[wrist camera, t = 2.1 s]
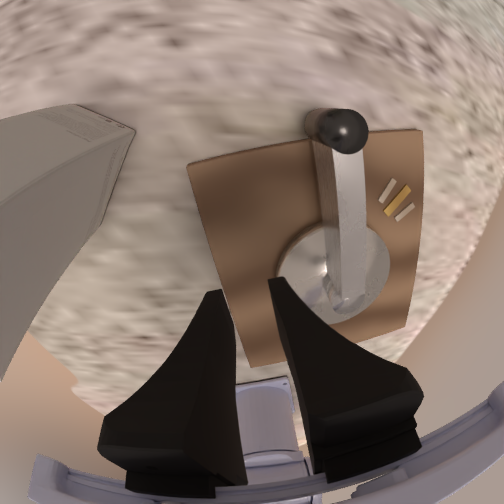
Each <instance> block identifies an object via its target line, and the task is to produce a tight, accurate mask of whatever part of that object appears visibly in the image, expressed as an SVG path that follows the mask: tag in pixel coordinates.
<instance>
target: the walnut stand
mask: <svg viewBox="0 0 504 504" xmlns="http://www.w3.org/2000/svg"><path fill="white" fill-rule="evenodd" d="M362 150H363V161H364V175H365V192H366V225H367V226H369V227H370V228H371V229H372V230H373V231H374V232H375V233H376V234H377V235H378V236H379V237H380V238H381V239H382V240H383V241H384V243H385V245H386V247H387V249H388V252H389V256H390V270H389V275H388V278H387V281H386V283H385V286H384V287H383V289H382V291H381V293H380V294H379V295H378V297H377V298H376V299H375V300H374V301H373V302H372V303H371V304H370V305H369V306H368V307H367V308H366V309H365V310H363V311H362V312H360V313H359V314H357V315H356V316H354V317H352V318H350V319H347V320H345V321H342V322H339V323H335V324H329V326H330V327H332V328H333V329H334V330H336V331H337V332H338V333H340V334H341V335H342V336H344V337H345V338H347V339H348V340H350V341H351V342H353V343H358V342H361V341H364V340H368V339H371V338H374V337H377V336H380V335H383V334H386V333H389V332H392V331H395V330H397V329H400V328H403V327H405V324H406V320H407V316H408V311H409V307H410V302H411V297H412V292H413V286H414V280H415V274H416V268H417V261H418V254H419V246H420V236H421V226H422V213H423V193H424V149H423V131H421V130H417V129H405V130H386V131H373V132H369V135H368V140H367V142H366V144H365V146H364V147H363V148H362ZM186 168H187V171H188V175H189V179H190V182H191V186H192V189H193V193H194V196H195V199H196V203H197V206H198V210H199V213H200V216H201V220H202V223H203V226H204V230H205V233H206V236H207V239H208V243H209V246H210V249H211V252H212V255H213V259H214V262H215V265H216V268H217V271H218V274H219V277H220V280H221V283H222V286H223V289H224V292H225V295H226V298H227V301H228V304H229V307H230V310H231V313H232V316H233V319H234V322H235V325H236V328H237V331H238V334H239V336H240V339H241V342H242V345H243V348H244V350H245V353H246V356H247V359H248V362H249V364H250V367H251V368H253V367H258V366H264V365H269V364H274V363H279V362H284V361H287V359H286V356H285V353H284V350H283V347H282V344H281V341H280V337H279V333H278V328H277V323H276V319H275V314H274V309H273V304H272V299H271V295H270V290H269V285H268V281H267V279H271V278H276V269H277V264H278V261H279V259H280V257H281V255H282V253H283V251H284V250H285V248H286V247H287V245H288V244H289V243H290V242H291V241H292V239H293V238H294V237H296V236H297V235H298V234H299V233H300V232H302V231H303V230H304V229H306V228H308V227H309V226H311V225H313V224H315V223H318V222H320V221H322V214H321V204H320V195H319V187H318V179H317V171H316V164H315V156H314V150H313V143H312V140H311V139H304V140H298V141H291V142H286V143H280V144H274V145H269V146H264V147H259V148H254V149H249V150H244V151H239V152H235V153H230V154H226V155H222V156H218V157H213V158H209V159H205V160H202V161H198V162H194V163H190V164H188V165H187V167H186Z"/></svg>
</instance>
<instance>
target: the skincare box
mask: <svg viewBox="0 0 504 504" xmlns="http://www.w3.org/2000/svg"><path fill="white" fill-rule="evenodd" d="M134 135H135V131H134V130H132V129H130V128H128V127H126V126H124V125H122V124H119V123H117V122H115V121H113V120H111V119H108V118H106V117H104V116H101V115H99V114H97V113H94V112H92V111H89V110H87V109H84V108H82V107H80V106H77V105H75V104H68V105H62V106H56V107H50V108H45V109H40V110H36V111H32V112H28V113H24V114H20V115H16V116H12V117H8V118H5V119H1V120H0V382H1V381H2V379H3V377H4V375H5V372H6V370H7V368H8V366H9V364H10V362H11V360H12V358H13V356H14V354H15V352H16V350H17V348H18V346H19V344H20V342H21V341H22V339H23V337H24V335H25V333H26V331H27V330H28V328H29V326H30V324H31V322H32V321H33V319H34V317H35V316H36V314H37V312H38V311H39V309H40V307H41V306H42V304H43V303H44V301H45V299H46V298H47V296H48V295H49V293H50V292H51V290H52V289H53V287H54V286H55V284H56V283H57V281H58V280H59V278H60V277H61V276H62V274H63V273H64V271H65V270H66V268H67V267H68V266H69V264H70V263H71V262H72V260H73V259H74V257H75V256H76V255H77V253H78V252H79V251H80V250H81V248H82V247H83V246H84V244H85V243H86V242H87V241H88V239H89V238H90V237H91V236H92V234H93V233H94V232H95V231H96V229H97V228H98V227H99V226H100V224H101V222H102V219H103V216H104V213H105V210H106V207H107V204H108V201H109V198H110V195H111V193H112V190H113V187H114V184H115V182H116V179H117V176H118V174H119V171H120V168H121V166H122V163H123V160H124V157H125V155H126V152H127V149H128V147H129V145H130V143H131V141H132V139H133V137H134Z"/></svg>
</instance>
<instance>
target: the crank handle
mask: <svg viewBox="0 0 504 504" xmlns="http://www.w3.org/2000/svg"><path fill="white" fill-rule="evenodd" d="M304 127H305V131H306V134H307V135H308V137H309V138H310V139H311V140H312V143H313V150H314V156H315V164H316V171H317V179H318V187H319V195H320V204H321V214H322V221H320V222H318V223H315V224H313V225H311V226H309V227H308V228H306V229H304V230H303V231H302V232H300V233H299V234H298V235H297V236H296V237H294V238H293V239H292V241H291V242H290V243H289V244H288V245H287V247H286V248H285V250H284V251H283V253H282V255H281V257H280V259H279V261H278V264H277V269H276V277H280V276H283V277H285V278H286V280H287V282H288V283H289V285H290V286H291V287H292V289H293V290H294V291H295V292H296V294H297V295H298V296H299V297H300V298H301V299H302V300H303V301H304V303H305V304H306V305H307V306H308V307H309V308H310V309H311V310H312V311H313V312H314V313H315V314H316V315H318V316H319V317H320V318H321V319H322V320H323V321H324V322H325V323H327V324H328V325H329V324H335V323H339V322H342V321H345V320H347V319H350V318H352V317H354V316H356V315H357V314H359V313H360V312H362V311H363V310H365V309H366V308H367V307H368V306H369V305H370V304H371V303H372V302H373V301H374V300H375V299H376V298H377V297H378V295H379V294H380V293H381V291H382V289H383V287H384V286H385V283H386V281H387V278H388V275H389V270H390V256H389V252H388V249H387V247H386V245H385V243H384V241H383V240H382V239H381V238H380V237H379V236H378V235H377V234H376V233H375V232H374V231H373V230H372V229H371V228H370V227H369V226H367V225H366V192H365V175H364V161H363V150H362V148H363V147H364V146H365V144H366V142H367V140H368V135H369V130H368V125H367V123H366V121H365V119H364V118H363V117H362V116H361V115H360V114H359V113H358V112H356V111H354V110H351V109H335V108H318V109H315V110H313V111H311V112H310V113H309V114H308V115H307V117H306V119H305V124H304Z"/></svg>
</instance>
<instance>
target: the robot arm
mask: <svg viewBox="0 0 504 504" xmlns="http://www.w3.org/2000/svg"><path fill="white" fill-rule="evenodd" d="M267 281H268V285H269V290H270V295H271V299H272V304H273V309H274V314H275V319H276V323H277V328H278V333H279V337H280V341H281V344H282V347H283V350H284V353H285V356H286V359H287V362H288V365H289V368H290V371H291V374H292V377H293V380H294V384H295V388H296V392H297V397H298V401H299V406H300V411H301V416H302V420H303V425H304V430H305V435H306V440H307V445H308V450H309V455H310V457H304V458H303V453H302V451H299V447H298V442H297V437H296V432H295V427H294V421H293V416H292V413H294V412H295V409H294V404H293V399H292V394H291V389H290V384H289V379H288V378H287V377H281V378H276V379H271V380H266V381H260V382H255V383H249V384H243V385H236V339H235V330H234V324H233V321H232V318H231V315H230V312H229V309H228V306H227V303H226V300H225V297H224V295H223V292H222V289H219V290H214V291H208V292H207V293H206V294H205V296H204V298H203V300H202V302H201V304H200V306H199V308H198V310H197V312H196V314H195V316H194V317H193V319H192V321H191V323H190V325H189V326H188V328H187V330H186V331H185V333H184V335H183V336H182V338H181V339H180V341H179V342H178V344H177V346H176V347H175V348H174V350H173V351H172V353H171V354H170V355H169V357H168V358H167V359H166V361H165V362H164V363H163V364H162V366H161V367H160V368H159V369H158V370H157V371H156V372H155V373H154V374H153V375H152V377H151V378H150V379H149V380H148V381H147V382H146V383H145V384H144V385H143V386H142V387H141V388H140V389H139V390H138V391H136V392H135V393H134V394H133V395H132V396H131V397H130V398H128V399H127V400H126V401H125V402H123V403H122V404H121V405H119V406H118V407H117V408H115V409H114V410H113V411H111V412H110V413H109V414H107V415H106V416H104V420H103V424H102V428H101V433H100V437H99V442H98V446H97V450H98V451H99V453H100V454H101V455H102V456H103V457H104V458H106V459H107V460H109V461H111V462H113V463H114V464H116V465H118V466H119V467H121V468H123V469H125V470H127V473H126V481H124V480H118V479H113V478H108V477H103V476H98V475H94V474H90V473H86V472H82V471H78V470H75V469H71V468H68V467H67V466H66V465H64V464H63V463H61V462H59V461H57V460H55V459H53V458H50V457H47V456H44V455H41V454H37V455H36V459H35V463H34V467H33V472H32V476H31V481H30V486H29V492H28V498H29V499H30V500H32V501H34V502H36V503H37V504H162V503H166V504H322V499H321V498H322V493H325V492H329V491H333V490H337V489H341V488H345V487H348V486H351V485H355V484H358V483H361V482H364V481H367V480H370V479H373V478H376V477H378V476H380V477H378V478H376V479H373V480H371V481H369V482H366V483H364V484H361V485H359V486H358V487H357V491H355V492H353V493H352V494H351V498H352V499H348V500H344V501H341V502H337V503H332V504H437V503H439V502H441V501H443V500H444V499H446V498H447V497H449V496H450V495H452V494H454V493H455V492H456V491H458V490H460V489H461V488H463V487H464V486H465V485H467V484H468V483H469V482H471V481H473V480H474V479H475V478H476V477H478V476H479V475H481V474H482V473H483V472H484V471H486V470H487V469H488V468H489V467H491V466H492V465H493V464H494V463H495V462H497V461H498V460H499V459H500V458H501V457H502V456H503V455H504V381H503V382H502V383H501V384H499V385H498V386H497V387H496V388H495V389H494V390H493V391H492V392H491V394H490V395H489V396H488V399H486V400H485V401H483V402H482V403H480V404H479V405H478V406H476V407H474V408H473V409H471V410H470V411H468V412H467V413H465V414H464V415H462V416H460V417H459V418H457V419H455V420H454V421H452V422H450V423H448V424H446V425H445V426H443V427H441V428H439V429H437V430H435V431H433V432H432V433H430V434H428V435H426V436H424V437H422V438H419V437H418V435H417V432H416V430H415V428H416V427H417V423H416V421H415V418H414V414H415V413H416V411H417V409H418V407H419V406H420V405H421V402H422V400H423V398H424V395H423V391H422V389H421V387H420V386H419V384H418V382H417V381H416V379H415V378H414V377H413V375H412V374H411V373H410V371H409V370H408V369H407V368H405V367H403V366H400V365H397V364H395V363H392V362H390V361H387V360H385V359H383V358H380V357H378V356H376V355H374V354H372V353H370V352H369V351H367V350H365V349H363V348H362V347H360V346H358V345H357V344H355V343H353V342H351V341H350V340H348V339H347V338H345V337H344V336H342V335H341V334H340V333H338V332H337V331H336V330H334V329H333V328H332V327H330V326H329V325H328V324H327V323H325V322H324V321H323V320H322V319H321V318H320V317H319V316H318V315H316V314H315V313H314V312H313V311H312V310H311V309H310V308H309V307H308V306H307V305H306V304H305V303H304V301H303V300H302V299H301V298H300V297H299V296H298V295H297V294H296V292H295V291H294V290H293V289H292V287H291V286H290V285H289V283H288V282H287V280H286V278H285V277H283V276H280V277H276V278H271V279H267ZM386 473H387V474H386ZM381 475H382V476H381Z"/></svg>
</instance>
